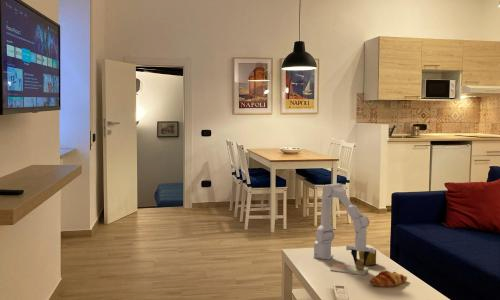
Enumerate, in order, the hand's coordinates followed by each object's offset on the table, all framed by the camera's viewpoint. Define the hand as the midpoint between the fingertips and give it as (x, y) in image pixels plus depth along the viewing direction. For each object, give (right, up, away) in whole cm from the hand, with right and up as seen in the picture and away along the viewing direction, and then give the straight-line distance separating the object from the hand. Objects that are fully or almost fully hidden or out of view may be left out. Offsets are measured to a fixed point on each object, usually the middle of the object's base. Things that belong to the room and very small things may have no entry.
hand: (360, 264), depth 245 cm
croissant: (+10, -6, -17) cm, 21 cm away
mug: (+7, -2, +14) cm, 15 cm away
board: (-5, -3, +2) cm, 6 cm away
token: (0, -2, 0) cm, 2 cm away
